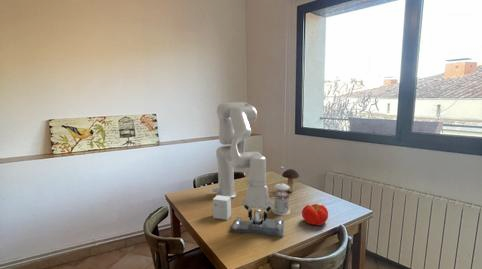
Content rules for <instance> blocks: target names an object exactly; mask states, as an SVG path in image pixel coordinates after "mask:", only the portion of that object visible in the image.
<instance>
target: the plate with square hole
mask: <svg viewBox="0 0 482 269" xmlns="http://www.w3.org/2000/svg"><path fill="white" fill-rule="evenodd" d="M284 231H285V220H284V219H283V217H282V216H278V217H277V219H274V218H273V219H272V218H267V219H266V220H265V221H264V217H263V218H262V217H261V225H258V224H255V217H252V219H251V220H250V219H249V220H242V217H240V216H238V217H236V219H234V221H233V223H232V224H231V227H230V232H231V233H238V234H248V235H249V234H250V235H257V236H258V235H259V236H270V237H280V238H283V237H284V233H285V232H284Z"/></svg>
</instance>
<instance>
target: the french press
mask: <svg viewBox="0 0 482 269" xmlns="http://www.w3.org/2000/svg"><path fill="white" fill-rule="evenodd" d="M284 169H285V167H284V166H280V170H284ZM273 187H274V189H275V190H277V192H275V193H274V201H273V203H274V207H273V208H272V210H271V211H272V213H273V214H276V215H277V216H287V215H289V214H290V213H291V210H290V205H289V204H290V202H289V201H290V197H289V193H288V192H287V191H288V189H289V186H288V185H287V184H285V183H276V184H275V185H274V186H273Z"/></svg>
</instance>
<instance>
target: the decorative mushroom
mask: <svg viewBox="0 0 482 269" xmlns="http://www.w3.org/2000/svg"><path fill="white" fill-rule="evenodd" d="M281 177H282V178H286V179H287V184H286V185H288V186H289V189H288V190H287V191H288V192H290V193H291V192H294V190H295V185H294V184H295V182H294V179H298V178H300V174H299V172H298V171H296V170H295V169H292V168H288V169H286V170H284V171H282V173H281Z"/></svg>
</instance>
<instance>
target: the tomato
mask: <svg viewBox="0 0 482 269" xmlns="http://www.w3.org/2000/svg"><path fill="white" fill-rule="evenodd" d="M301 216H302V219H303V220H304V221H305V222H306V223H307V224H309V225H313V226H314V225H316V226H321V225H323V224H325V223H326V222H327V220H328V219H329V212H328V209H327V208H326V206H325V205H324V204H317V203H313V204H311V205H309V204H306V205H305V206H304V207H303V208H302V211H301Z"/></svg>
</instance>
